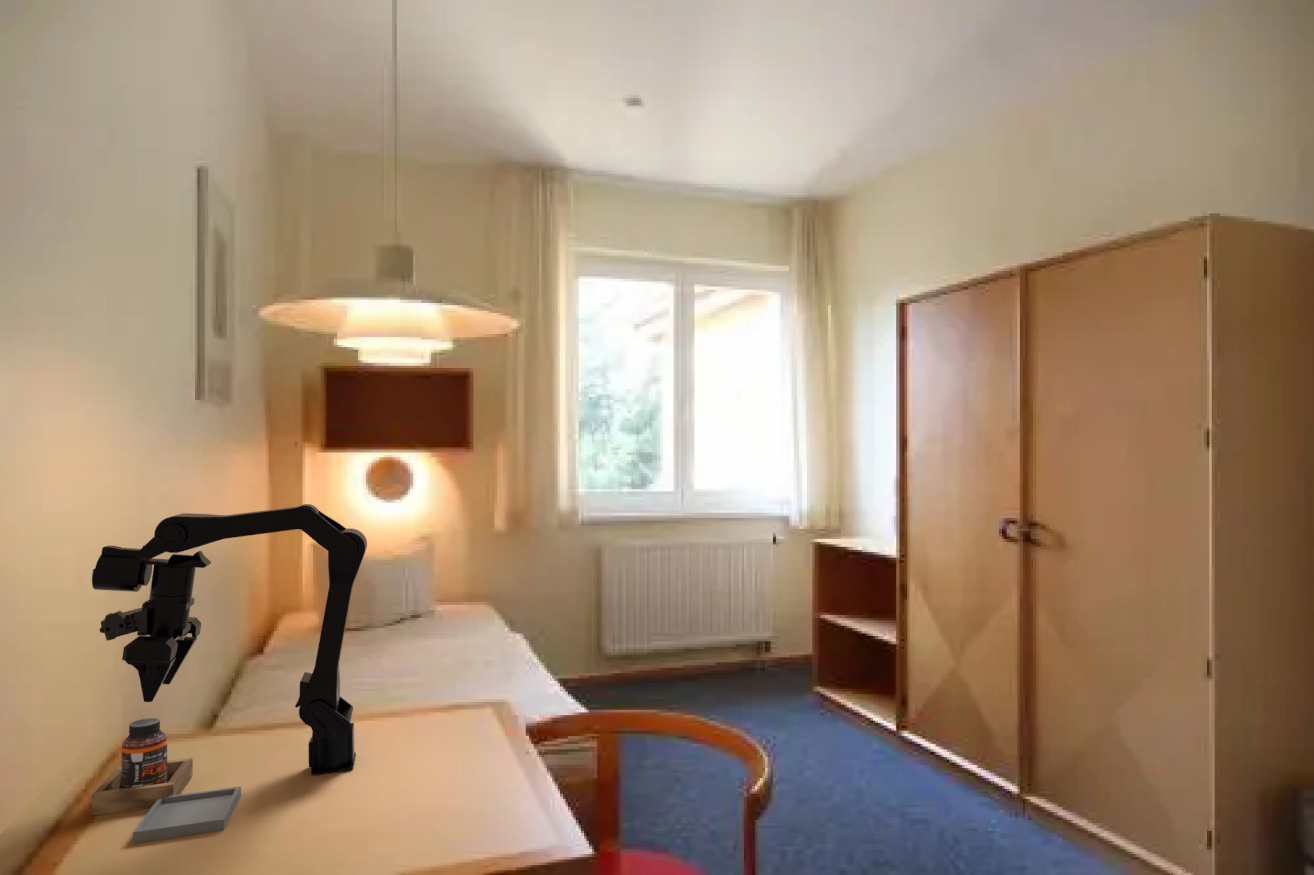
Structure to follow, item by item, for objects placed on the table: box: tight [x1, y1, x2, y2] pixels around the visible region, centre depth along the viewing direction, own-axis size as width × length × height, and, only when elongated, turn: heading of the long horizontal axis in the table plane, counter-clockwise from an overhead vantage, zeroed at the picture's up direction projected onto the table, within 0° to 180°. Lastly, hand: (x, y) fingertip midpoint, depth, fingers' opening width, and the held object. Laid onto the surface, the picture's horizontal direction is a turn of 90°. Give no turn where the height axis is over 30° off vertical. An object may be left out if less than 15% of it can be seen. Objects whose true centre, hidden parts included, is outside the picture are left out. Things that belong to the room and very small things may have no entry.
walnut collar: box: [91, 757, 194, 816], centre depth 120 cm, size 10×10×3 cm
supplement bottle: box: [121, 717, 168, 789], centre depth 120 cm, size 6×6×11 cm
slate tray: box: [132, 785, 242, 844], centre depth 112 cm, size 11×11×2 cm
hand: (157, 692), depth 122 cm, fingers open, 9 cm apart
